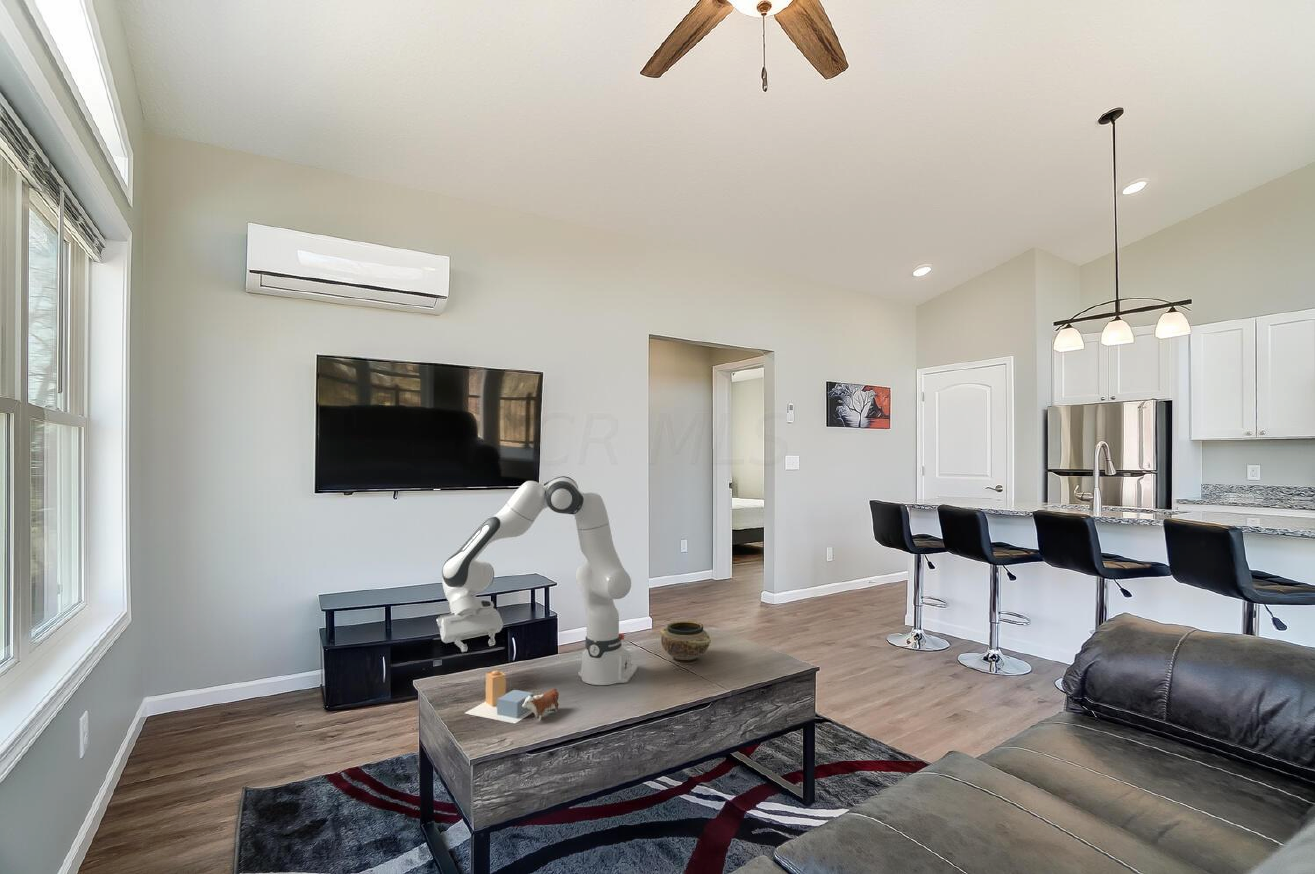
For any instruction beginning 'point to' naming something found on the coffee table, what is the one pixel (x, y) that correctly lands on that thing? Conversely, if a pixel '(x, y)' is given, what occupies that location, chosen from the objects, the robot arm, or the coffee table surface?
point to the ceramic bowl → (685, 641)
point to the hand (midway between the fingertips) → (479, 647)
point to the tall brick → (495, 687)
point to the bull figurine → (542, 702)
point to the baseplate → (493, 713)
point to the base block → (513, 704)
